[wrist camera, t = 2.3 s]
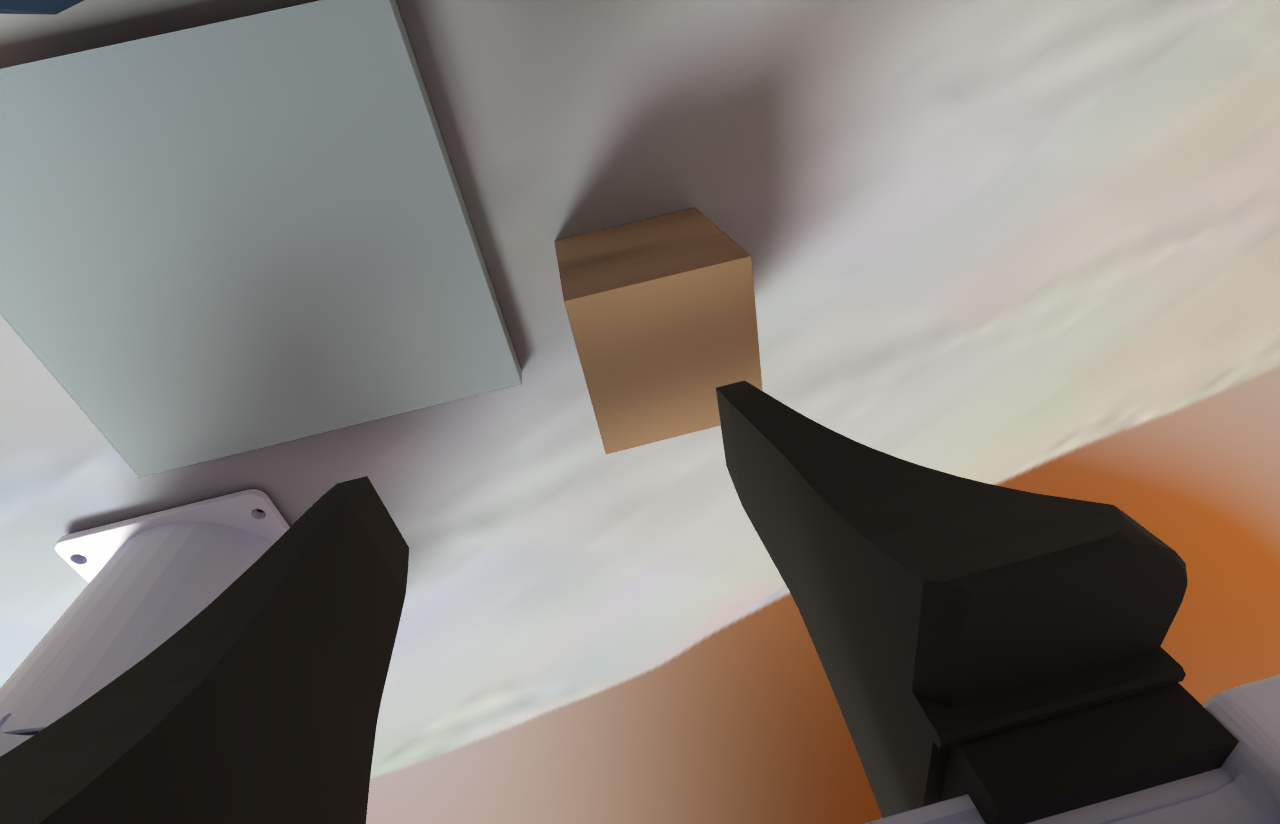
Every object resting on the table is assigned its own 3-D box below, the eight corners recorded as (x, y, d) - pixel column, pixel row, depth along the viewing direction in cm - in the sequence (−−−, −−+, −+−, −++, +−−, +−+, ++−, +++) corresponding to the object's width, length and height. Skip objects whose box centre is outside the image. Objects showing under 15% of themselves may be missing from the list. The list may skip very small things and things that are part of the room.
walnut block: (711, 336, 23) (764, 414, 18) (588, 366, 22) (606, 454, 17) (694, 207, 20) (751, 256, 15) (554, 240, 20) (563, 301, 15)
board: (521, 371, 22) (521, 384, 21) (154, 461, 21) (139, 477, 21) (392, -10, 16) (384, -14, 15) (-137, 104, 15) (-176, 106, 14)
